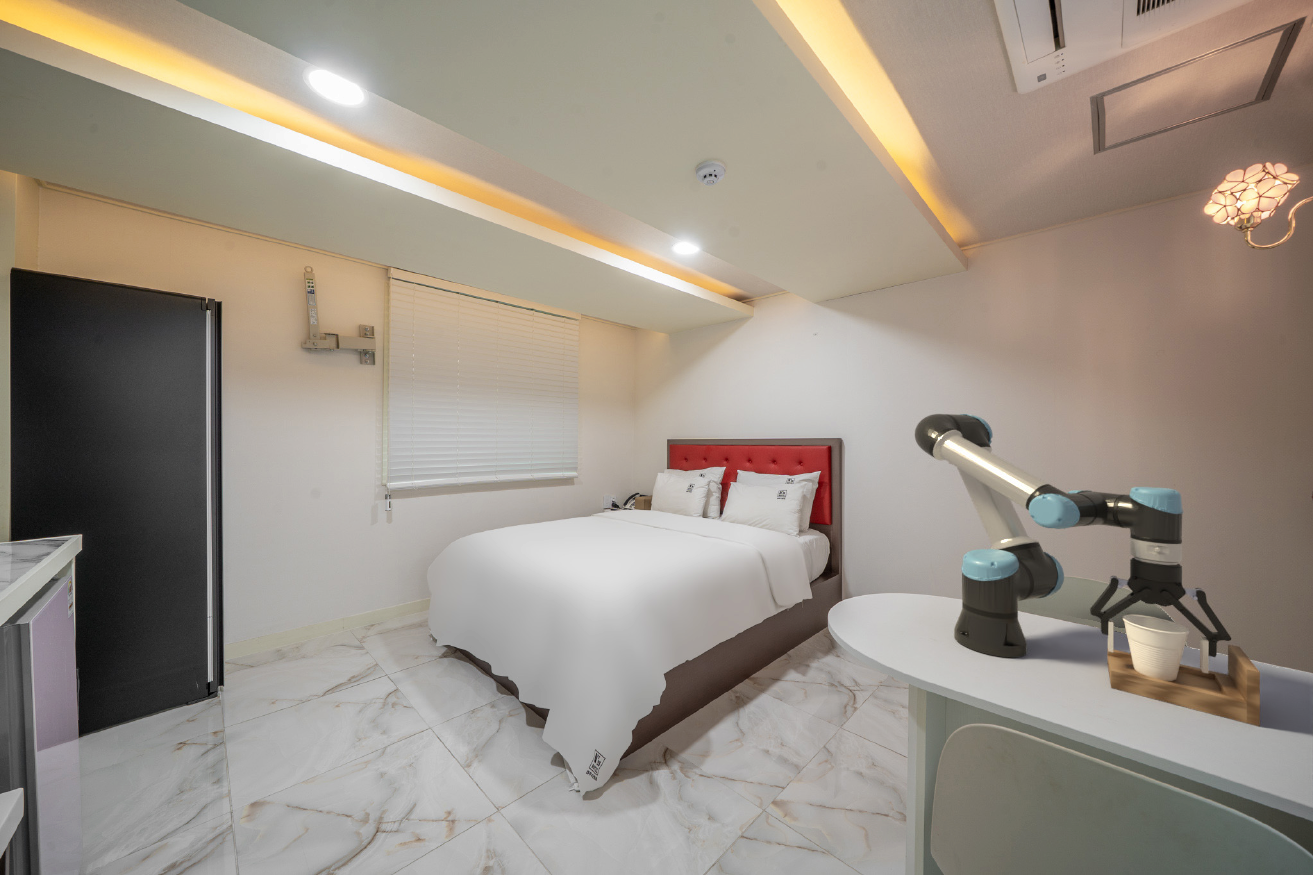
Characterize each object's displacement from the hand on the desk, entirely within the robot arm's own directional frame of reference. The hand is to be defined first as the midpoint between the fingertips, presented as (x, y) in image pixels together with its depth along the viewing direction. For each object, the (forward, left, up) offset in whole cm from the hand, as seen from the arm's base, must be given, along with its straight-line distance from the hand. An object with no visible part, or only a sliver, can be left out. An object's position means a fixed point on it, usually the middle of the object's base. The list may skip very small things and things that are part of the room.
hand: (1155, 659), depth 99 cm
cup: (0, 0, -3) cm, 3 cm away
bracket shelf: (+2, 0, -6) cm, 6 cm away
